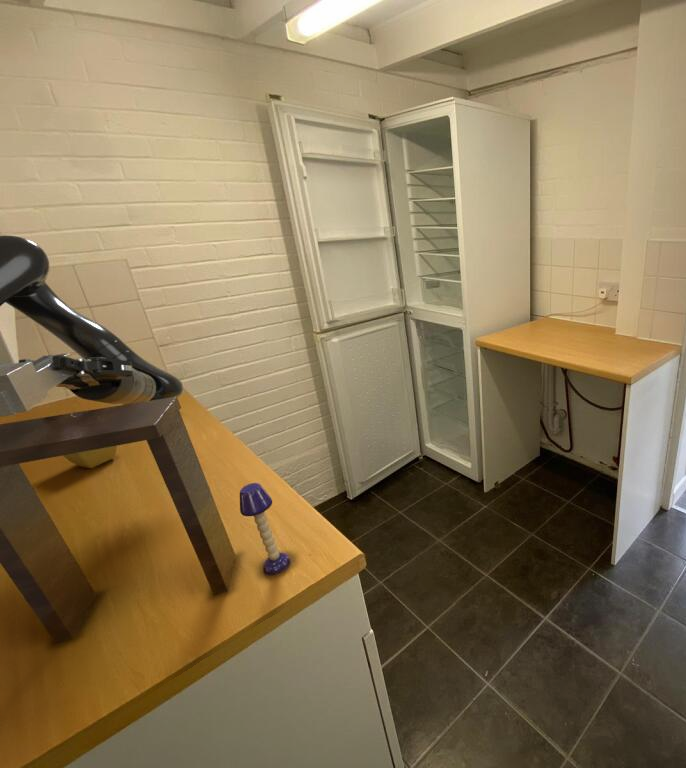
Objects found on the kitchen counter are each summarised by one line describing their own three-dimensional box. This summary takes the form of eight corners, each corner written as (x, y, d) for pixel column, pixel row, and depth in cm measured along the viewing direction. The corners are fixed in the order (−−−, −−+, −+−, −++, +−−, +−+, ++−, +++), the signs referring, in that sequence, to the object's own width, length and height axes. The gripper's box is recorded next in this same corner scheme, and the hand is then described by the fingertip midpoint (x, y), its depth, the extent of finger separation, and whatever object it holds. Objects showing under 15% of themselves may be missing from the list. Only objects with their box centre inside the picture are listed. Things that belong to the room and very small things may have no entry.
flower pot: (64, 469, 104) (47, 437, 100) (105, 450, 112) (90, 421, 108) (86, 474, 101) (70, 443, 98) (127, 455, 109) (113, 425, 105)
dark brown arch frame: (51, 649, 61) (-78, 465, 48) (85, 595, 69) (-18, 426, 56) (226, 596, 68) (155, 424, 56) (237, 553, 77) (177, 396, 64)
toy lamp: (255, 573, 72) (226, 495, 66) (273, 553, 77) (248, 478, 70) (280, 576, 72) (253, 498, 65) (297, 555, 76) (273, 480, 69)
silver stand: (-31, 421, 50) (-55, 383, 48) (44, 375, 63) (28, 344, 61) (25, 413, 51) (4, 375, 49) (86, 370, 65) (71, 339, 63)
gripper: (56, 368, 73) (-32, 345, 57) (153, 356, 78) (98, 331, 62) (61, 410, 72) (-25, 399, 56) (160, 395, 77) (106, 381, 61)
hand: (40, 364), depth 59 cm, fingers closed on silver stand, 3 cm apart
